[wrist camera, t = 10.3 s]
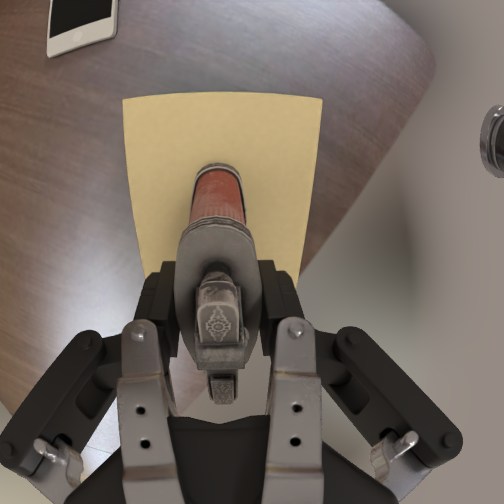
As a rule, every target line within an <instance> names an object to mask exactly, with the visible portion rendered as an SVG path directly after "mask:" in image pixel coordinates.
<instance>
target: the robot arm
mask: <svg viewBox="0 0 504 504" xmlns="http://www.w3.org/2000/svg"><path fill="white" fill-rule="evenodd" d="M491 154H492V159H493V162H494V165H495V166H496V168H497V169H498V170H500V171H501V172H503V173H504V115H503V116H502V117H500V118H499V120H498V121H497V123H496V125H495V127H494V130H493V134H492V140H491ZM257 261H258V267H259V273H260V279H261V285H262V311H261V321H260V326H259V330H260V336H261V343H262V349H263V355H264V356H270V358H271V368H270V377H269V386H268V396H267V405H266V412H265V415H257V416H249V417H245V418H242V419H238V420H234V421H231V422H227V423H223V424H215V423H211V422H207V421H202V420H198V419H194V418H191V417H179V415H178V412H177V408H176V403H175V398H174V393H173V387H172V381H171V375H170V370H169V363H170V357H177V352H178V342H179V333H180V328H179V325H178V322H177V317H176V309H175V298H174V277H175V266H176V261H163V262H162V265H161V269H160V272H152V273H151V274H150V275H149V276H148V277H147V278H146V279H145V282H144V285H143V289H142V292H141V296H140V298H139V302H138V305H137V309H136V312H135V316H134V319H133V321H132V322H130V323H128V324H127V325H126V326H125V327H124V329H123V331H122V333H121V334H118V335H115V336H110V337H105V338H102V337H101V335H100V334H99V333H98V332H96V331H94V330H85V331H82V332H80V333H78V334H77V335H76V336H75V337H74V338H73V339H72V340H71V341H70V343H69V344H68V345H67V346H66V347H65V349H64V350H63V351H62V352H61V353H60V355H59V356H58V357H57V358H56V360H55V361H54V362H53V363H52V365H51V366H50V367H49V368H48V370H47V371H46V372H45V373H44V375H43V376H42V377H41V378H40V380H39V381H38V382H37V384H36V385H35V386H34V388H33V389H32V390H31V392H30V393H29V394H28V396H27V397H26V398H25V400H24V401H23V403H22V404H21V405H20V407H19V408H18V410H17V411H16V412H15V414H14V415H13V417H12V419H11V420H10V421H9V423H8V424H7V426H6V427H5V429H4V430H3V432H2V433H1V435H0V463H1V464H2V465H3V466H4V467H6V468H8V469H9V470H11V471H13V472H15V473H17V474H18V475H19V476H21V477H23V478H25V479H27V480H28V481H29V482H30V483H31V484H32V485H33V486H35V488H37V489H38V490H39V491H40V492H41V493H42V494H43V495H44V496H45V497H46V498H48V499H49V500H50V501H51V502H52V503H53V504H399V502H400V501H401V500H402V499H403V498H405V497H406V496H407V495H408V494H409V493H410V492H411V491H412V490H413V489H414V488H415V487H416V486H417V485H418V484H419V483H420V482H421V481H422V480H423V479H424V478H425V477H426V476H427V475H428V474H429V473H430V472H431V471H432V470H433V469H435V468H437V467H438V466H440V465H442V464H444V463H446V462H447V461H449V460H451V459H453V458H455V457H456V456H457V455H458V454H459V453H460V451H461V449H462V445H463V438H462V434H461V432H460V431H459V429H458V428H457V427H456V426H455V425H454V424H453V423H452V422H451V421H450V420H449V419H448V417H447V416H446V415H445V414H444V413H443V412H442V411H441V410H440V409H439V408H438V407H437V406H436V405H435V403H433V401H432V400H431V399H430V398H429V397H428V396H427V395H426V394H425V393H424V392H423V391H422V390H421V389H420V388H419V387H418V386H417V385H416V384H415V382H413V380H412V379H411V378H410V377H409V376H408V375H407V374H406V373H405V372H404V371H403V370H402V369H401V368H400V367H399V366H398V365H397V364H396V363H395V362H394V361H393V360H392V359H391V358H390V357H389V356H388V355H387V354H386V353H385V352H384V351H383V350H382V349H381V348H380V347H379V346H378V344H377V343H376V342H375V341H374V340H372V338H371V337H370V336H368V334H367V333H366V332H364V331H363V330H362V329H359V328H357V327H352V326H351V327H350V326H349V327H344V328H342V329H340V330H339V331H338V333H337V334H332V333H326V332H322V331H318V330H316V329H314V327H313V326H312V325H311V323H310V322H308V321H307V320H305V318H304V314H303V311H302V308H301V305H300V301H299V298H298V295H297V293H296V289H295V287H294V283H293V280H292V277H291V276H290V275H289V274H288V273H287V272H286V271H285V270H280V271H276V268H275V264H274V261H273V260H257ZM321 385H322V386H323V387H324V389H325V390H326V391H327V392H328V393H329V395H330V396H331V397H332V399H333V400H334V401H335V402H336V404H337V405H338V406H339V407H340V409H341V410H342V411H343V412H344V414H345V415H346V416H347V417H348V419H349V420H350V421H351V422H352V423H353V425H354V426H355V427H356V428H357V430H358V431H359V432H360V433H361V434H362V436H363V437H364V438H365V439H366V440H367V442H368V443H369V444H370V445H371V446H372V449H371V451H370V461H371V463H372V465H373V467H374V469H375V479H374V478H372V477H371V476H369V475H368V474H367V473H365V472H364V471H363V470H361V469H359V468H358V467H357V466H355V465H354V464H353V463H351V462H350V461H349V460H347V459H346V458H345V457H343V456H342V455H341V454H339V453H338V452H337V451H335V450H334V449H332V448H331V447H330V446H329V445H328V444H326V443H325V442H324V441H322V398H321ZM116 397H117V409H118V423H119V434H120V444H121V446H120V447H119V448H118V449H117V450H116V451H115V452H114V453H113V454H112V455H111V456H110V457H109V458H108V459H107V460H106V461H105V462H104V463H102V464H101V465H100V466H99V467H98V468H97V469H96V470H95V471H94V472H93V473H92V474H91V475H90V476H89V477H88V478H87V479H85V480H84V481H83V482H82V483H80V476H81V473H82V472H83V470H84V468H83V460H82V457H81V455H80V454H81V452H82V451H83V449H84V447H85V446H86V444H87V442H88V441H89V439H90V438H91V436H92V434H93V433H94V431H95V430H96V428H97V426H98V425H99V423H100V422H101V420H102V418H103V417H104V415H105V414H106V412H107V411H108V409H109V408H110V406H111V404H112V403H113V401H114V400H115V398H116Z"/></svg>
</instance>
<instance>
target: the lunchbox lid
mask: <svg viewBox="0 0 504 504" xmlns="http://www.w3.org/2000/svg"><path fill="white" fill-rule="evenodd" d="M322 101H323V100H322V99H319V98H311V97H303V96H294V95H283V94H271V93H252V92H194V93H176V94H163V95H153V96H144V97H136V98H128V99H123V125H124V140H125V152H126V163H127V172H128V181H129V189H130V196H131V203H132V210H133V217H134V223H135V229H136V234H137V240H138V245H139V250H140V255H141V260H142V265H143V270H144V274H145V279H146V278H147V277H148V276H149V275H150V274H151V273H152V272H160V269H161V265H162V262H163V261H176V255H177V249H178V244H179V240H180V237H181V235H182V232H183V230H184V229H185V228H186V227H187V226H188V224H189V214H190V203H191V197H192V190H193V184H194V180H195V177H196V175H197V172H198V171H199V170H200V169H201V168H202V167H204V166H206V165H208V164H210V163H217V162H219V163H226V164H228V165H231V166H233V167H234V168H235V169H236V170H237V171H238V172H239V174H240V177H241V181H242V186H243V192H244V198H245V204H246V214H247V228H248V229H249V230H250V232H251V234H252V237H253V239H254V244H255V249H256V255H257V260H273V261H274V264H275V268H276V271H280V270H285V271H286V272H287V273H288V274H289V275H290V276H291V277H292V280H293V283H294V287H295V289H296V286H297V281H298V275H299V270H300V264H301V258H302V252H303V246H304V240H305V234H306V228H307V222H308V215H309V208H310V202H311V195H312V187H313V180H314V173H315V165H316V157H317V148H318V140H319V131H320V121H321V111H322Z"/></svg>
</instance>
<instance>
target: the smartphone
mask: <svg viewBox="0 0 504 504" xmlns="http://www.w3.org/2000/svg"><path fill="white" fill-rule="evenodd" d="M117 10H118V0H51V3H50V11H49V21H48V36H47V56H48V57H56V56H58V55H61V54H63V53H66V52H69V51H71V50H74V49H77V48H80V47H83V46H86V45H89V44H93V43H96V42H99V41H103V40H106V39H110V38H113V37H115V35H116V31H117Z"/></svg>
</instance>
